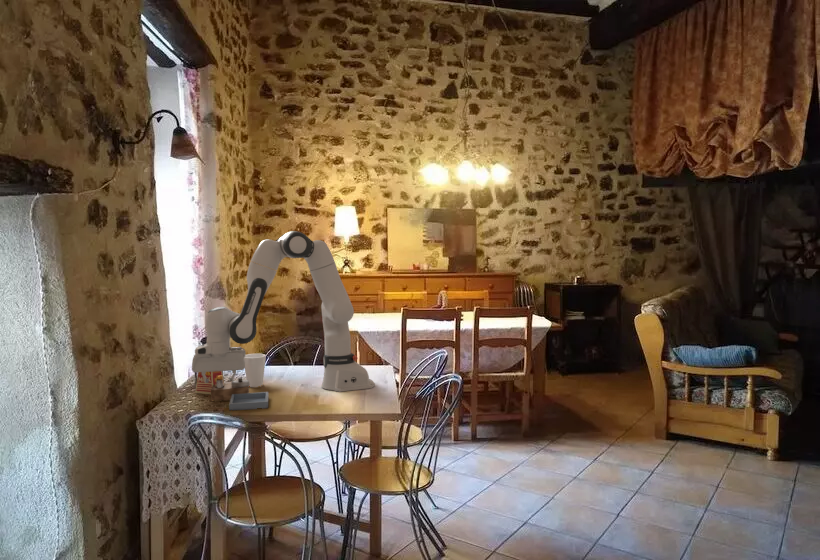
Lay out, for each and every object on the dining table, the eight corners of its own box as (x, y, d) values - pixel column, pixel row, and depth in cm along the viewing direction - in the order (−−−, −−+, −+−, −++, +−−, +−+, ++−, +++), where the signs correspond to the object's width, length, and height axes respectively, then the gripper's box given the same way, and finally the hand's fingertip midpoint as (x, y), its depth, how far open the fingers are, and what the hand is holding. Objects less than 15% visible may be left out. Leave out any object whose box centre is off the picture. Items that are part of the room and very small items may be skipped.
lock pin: (223, 396, 242) (222, 375, 241) (223, 398, 239) (222, 376, 238) (217, 397, 241) (216, 375, 240) (216, 398, 239) (216, 376, 238)
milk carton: (214, 394, 245) (213, 346, 244) (194, 393, 247) (192, 345, 246) (226, 388, 254) (224, 342, 253) (206, 387, 256) (204, 341, 254)
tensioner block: (250, 393, 246) (249, 375, 246) (249, 398, 239) (248, 380, 238) (213, 395, 243) (212, 377, 243) (211, 401, 236) (210, 382, 235)
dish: (268, 397, 240) (268, 391, 240) (267, 408, 226) (267, 401, 226) (232, 400, 237) (232, 394, 237) (229, 410, 223) (229, 404, 223)
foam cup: (265, 381, 265) (264, 352, 264) (267, 387, 257) (266, 357, 255) (243, 383, 262) (242, 354, 261) (244, 388, 254) (243, 358, 252)
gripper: (245, 345, 244) (246, 378, 245) (192, 347, 239) (193, 381, 240) (244, 348, 238) (245, 382, 239) (190, 350, 233) (191, 385, 234)
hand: (219, 381), depth 240 cm, fingers open, 8 cm apart
